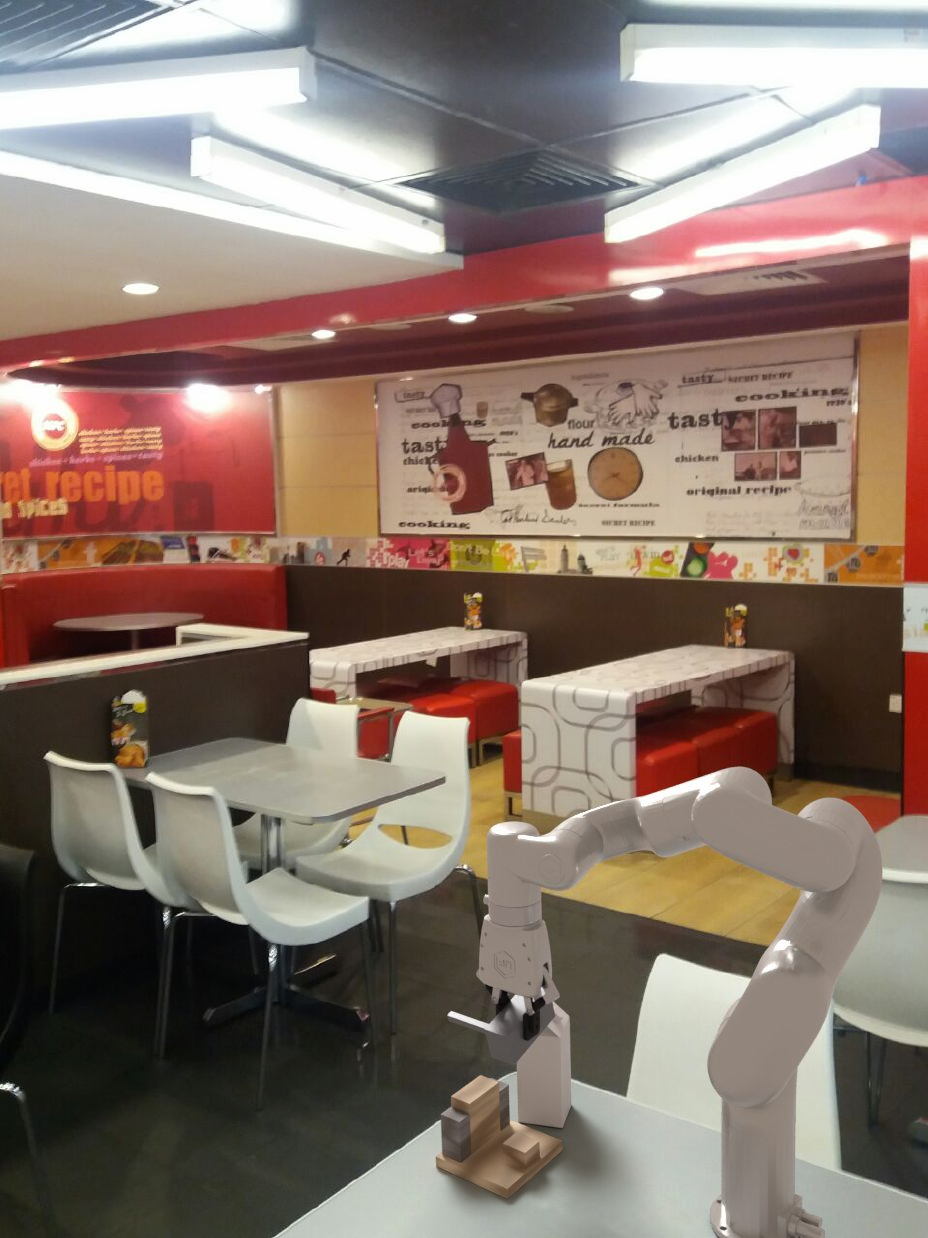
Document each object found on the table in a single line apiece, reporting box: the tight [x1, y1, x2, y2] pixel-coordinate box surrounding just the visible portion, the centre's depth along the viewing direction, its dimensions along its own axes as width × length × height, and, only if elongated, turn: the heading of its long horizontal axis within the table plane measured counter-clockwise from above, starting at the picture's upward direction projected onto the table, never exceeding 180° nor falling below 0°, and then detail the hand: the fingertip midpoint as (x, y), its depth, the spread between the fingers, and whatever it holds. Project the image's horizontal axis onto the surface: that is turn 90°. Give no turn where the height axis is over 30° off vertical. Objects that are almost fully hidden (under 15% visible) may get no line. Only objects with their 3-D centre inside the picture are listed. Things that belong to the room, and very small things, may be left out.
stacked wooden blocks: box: [435, 1074, 563, 1200], centre depth 167 cm, size 13×14×10 cm
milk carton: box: [516, 1001, 572, 1129], centre depth 177 cm, size 7×7×19 cm
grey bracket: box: [446, 987, 555, 1067], centre depth 165 cm, size 11×11×5 cm
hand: (518, 1031), depth 162 cm, fingers closed on grey bracket, 4 cm apart
